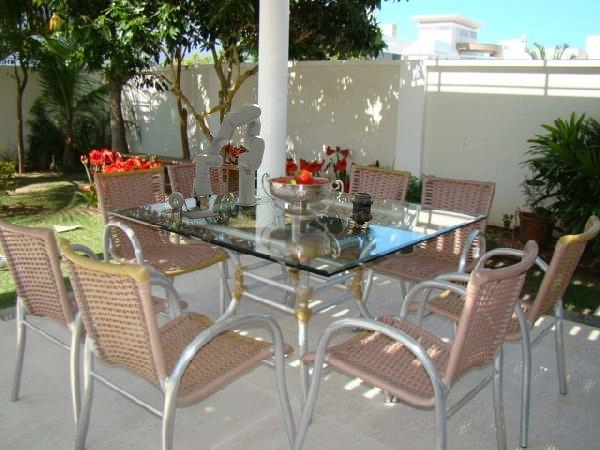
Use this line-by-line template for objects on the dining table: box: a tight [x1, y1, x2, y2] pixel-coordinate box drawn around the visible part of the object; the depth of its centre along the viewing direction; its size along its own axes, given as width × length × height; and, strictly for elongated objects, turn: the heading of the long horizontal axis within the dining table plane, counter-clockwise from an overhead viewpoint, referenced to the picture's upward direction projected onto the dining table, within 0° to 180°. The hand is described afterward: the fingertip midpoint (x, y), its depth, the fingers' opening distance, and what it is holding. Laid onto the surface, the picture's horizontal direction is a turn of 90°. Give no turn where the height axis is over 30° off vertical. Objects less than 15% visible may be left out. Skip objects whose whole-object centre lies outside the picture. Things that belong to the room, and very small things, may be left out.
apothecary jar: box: [349, 191, 374, 225], centre depth 294 cm, size 12×12×18 cm
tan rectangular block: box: [194, 195, 211, 211], centre depth 325 cm, size 4×9×6 cm, turn 38°
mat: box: [180, 209, 220, 220], centre depth 307 cm, size 16×14×1 cm
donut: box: [168, 191, 185, 210], centre depth 318 cm, size 10×4×10 cm, turn 67°
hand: (202, 206), depth 325 cm, fingers closed on tan rectangular block, 4 cm apart
